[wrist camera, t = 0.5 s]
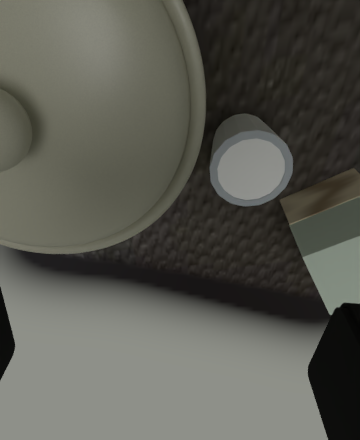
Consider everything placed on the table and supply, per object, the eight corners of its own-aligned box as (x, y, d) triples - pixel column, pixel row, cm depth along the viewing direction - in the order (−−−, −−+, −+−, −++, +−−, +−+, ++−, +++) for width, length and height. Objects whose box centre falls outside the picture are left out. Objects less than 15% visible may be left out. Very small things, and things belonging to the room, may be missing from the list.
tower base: (353, 167, 35) (374, 189, 31) (371, 224, 39) (392, 251, 35) (278, 199, 38) (289, 224, 33) (302, 250, 41) (314, 278, 37)
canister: (6, -123, 24) (-500, -456, 7) (236, -9, 27) (314, -27, 10) (-14, 115, 34) (-247, 244, 16) (159, 179, 37) (127, 347, 19)
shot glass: (269, 175, 36) (283, 209, 30) (203, 171, 36) (205, 204, 30) (283, 108, 32) (303, 133, 26) (210, 104, 32) (213, 127, 26)
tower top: (373, 190, 31) (401, 220, 27) (392, 252, 35) (419, 286, 31) (288, 225, 34) (302, 257, 29) (314, 279, 37) (329, 315, 33)
